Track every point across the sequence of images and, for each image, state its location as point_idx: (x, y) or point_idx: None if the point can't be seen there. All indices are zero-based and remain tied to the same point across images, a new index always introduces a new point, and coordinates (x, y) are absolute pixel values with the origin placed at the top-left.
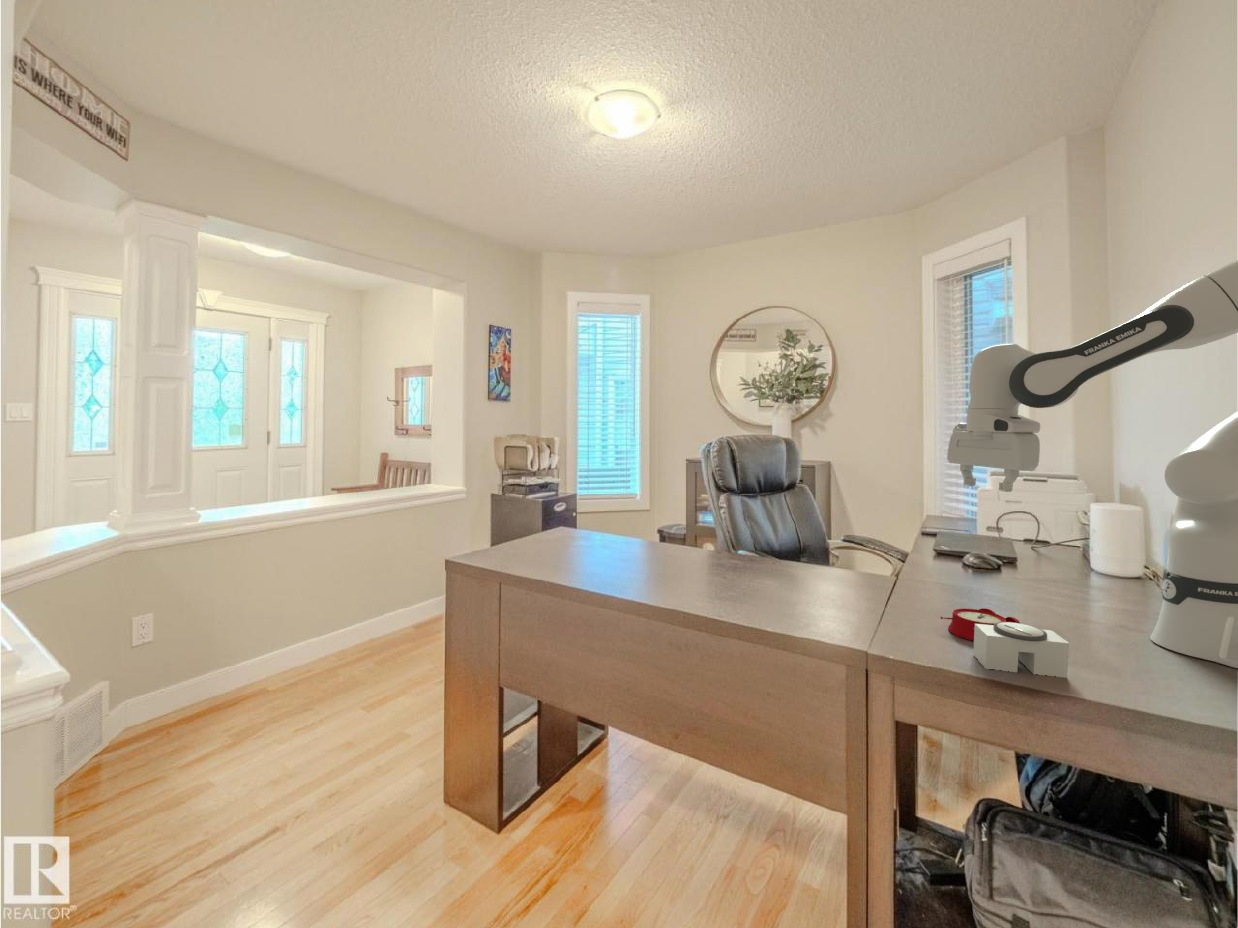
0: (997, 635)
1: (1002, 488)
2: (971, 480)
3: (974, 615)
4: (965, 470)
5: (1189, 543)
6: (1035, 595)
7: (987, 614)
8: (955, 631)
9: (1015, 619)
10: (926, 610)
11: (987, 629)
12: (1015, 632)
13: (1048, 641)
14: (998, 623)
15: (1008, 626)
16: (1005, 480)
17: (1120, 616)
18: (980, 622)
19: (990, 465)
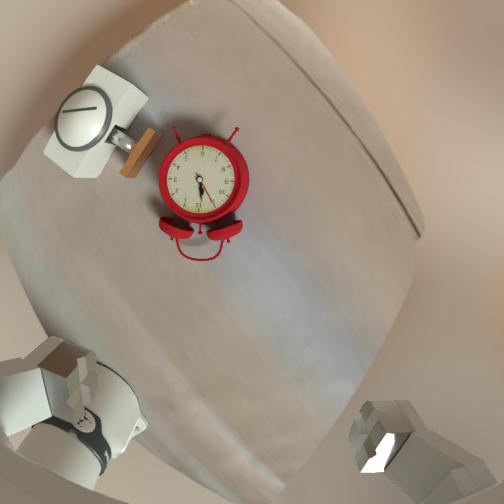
0: (90, 78)
1: (59, 345)
2: (372, 439)
3: (213, 183)
4: (446, 477)
5: (32, 457)
6: (302, 429)
7: (214, 219)
8: (213, 137)
9: (166, 226)
10: (326, 203)
11: (109, 82)
12: (76, 99)
13: (54, 131)
14: (107, 108)
15: (90, 107)
16: (7, 364)
17: (200, 436)
18: (173, 148)
19: (47, 487)
